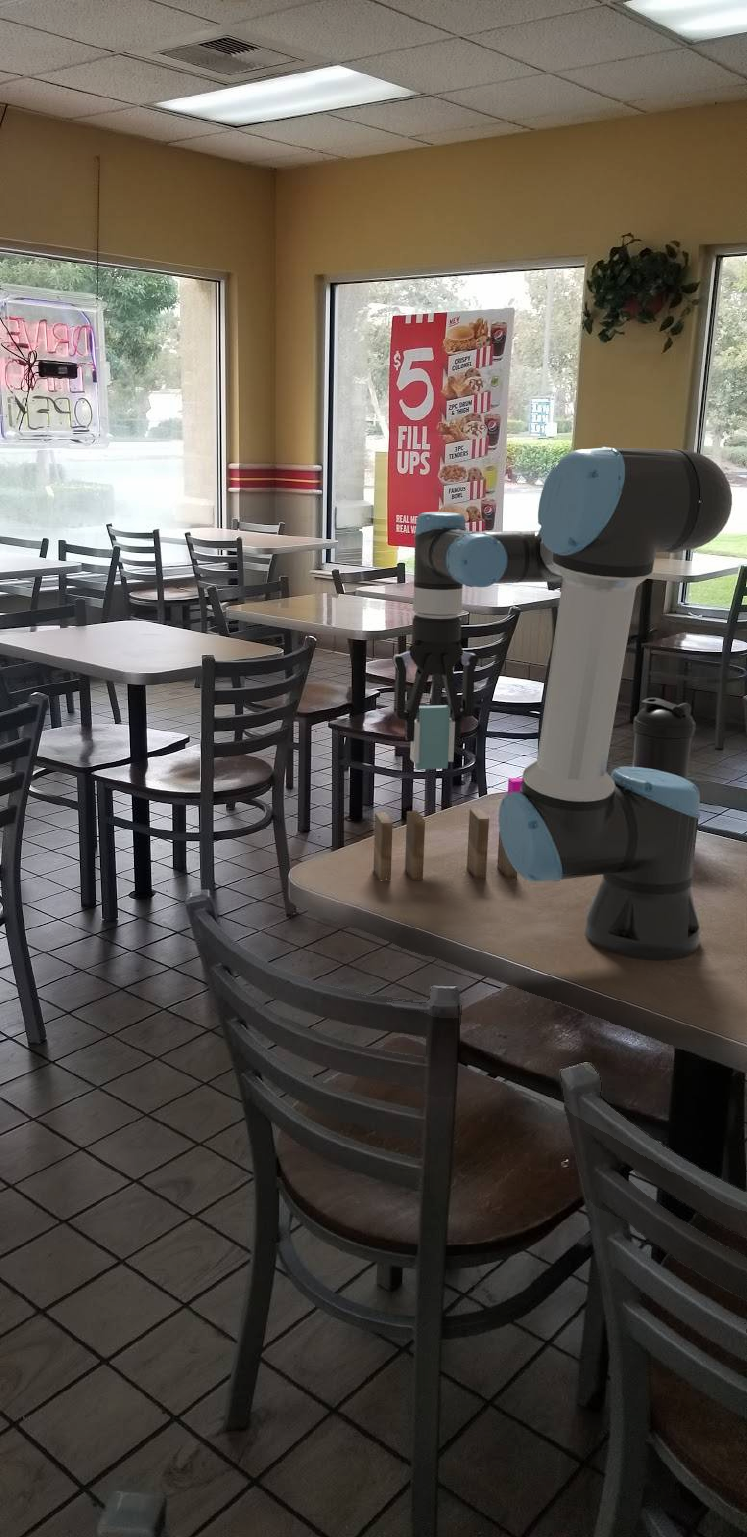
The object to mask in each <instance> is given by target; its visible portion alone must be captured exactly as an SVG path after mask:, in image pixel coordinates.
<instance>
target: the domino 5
mask: <svg viewBox="0 0 747 1537" xmlns="http://www.w3.org/2000/svg"><path fill="white" fill-rule="evenodd" d="M498 830H499V829H498ZM496 867H497V868H498V869H499V871H501V872H502V874H503V875H504V876H505V877H506V878H517V877H518V873H517V872H516V870H515V869H514V868H513V866H512V865H511V863H510V861H509V859H508V857H507V855H506V852H505V849H504V847H503V844H502V840H501V836H500V830H499V831H498V850H497V866H496Z"/></svg>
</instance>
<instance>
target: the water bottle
mask: <svg viewBox="0 0 747 1537" xmlns="http://www.w3.org/2000/svg"><path fill="white" fill-rule="evenodd" d="M641 704H644V708H642V709H641V710H640V711H638V713H637V714H636V716H634V718H633V724H632V728H633V732H634V742H633V744H634V745H633V757H632V767H641V768H648V769H654V770H659V771H663V772H667V773H671V774H674V775H677V776H680V777H682V778H685V779H687V775H688V769H689V760H690V753H691V745H692V738H693V737H694V735H695V734H696V732H695V731H696V722H695V721H694V718H693V716H692V715H691V712H692V710H693V709H692V706H691V704H690V703H688V702H682V703H680V704H675V703H673V702H670V701H667V700H666V699H665V700H664V699H662V698H658V697H648V698H645V699H643V700H641Z"/></svg>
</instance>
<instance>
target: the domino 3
mask: <svg viewBox="0 0 747 1537" xmlns="http://www.w3.org/2000/svg"><path fill="white" fill-rule="evenodd" d="M450 718H451V714H450V707H449V705H448V704H444V705H442V704H440V705H420V706H419V709H418V713H417V716H416V719H417V721H418V722H420V740H419V763H414V767H415V769H416V770H443V769H446V770H447V769H449V768H448V767H449V762H448V745H449V721H450Z"/></svg>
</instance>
